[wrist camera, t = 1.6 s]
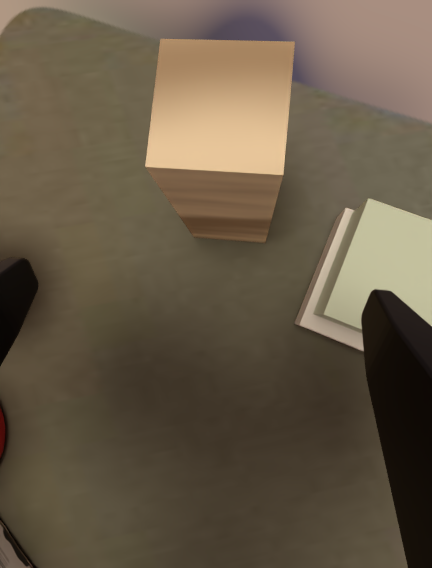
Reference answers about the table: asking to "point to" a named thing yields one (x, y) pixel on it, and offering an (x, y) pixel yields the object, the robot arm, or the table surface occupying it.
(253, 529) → the table surface
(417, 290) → the tower top
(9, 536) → the candy bar box
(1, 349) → the robot arm
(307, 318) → the tower bottom
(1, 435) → the canned food
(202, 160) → the pillar
